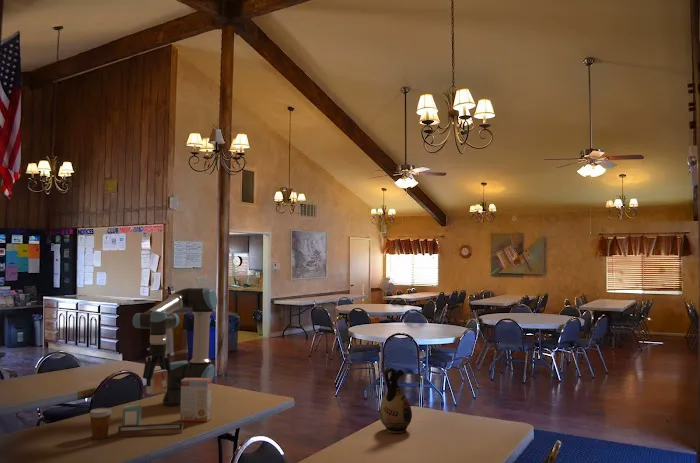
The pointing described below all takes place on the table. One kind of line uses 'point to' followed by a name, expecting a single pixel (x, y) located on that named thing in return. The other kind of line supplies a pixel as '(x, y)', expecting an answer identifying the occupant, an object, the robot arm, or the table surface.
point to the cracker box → (195, 399)
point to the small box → (159, 382)
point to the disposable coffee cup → (100, 422)
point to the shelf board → (150, 429)
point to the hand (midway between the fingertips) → (156, 390)
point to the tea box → (131, 415)
